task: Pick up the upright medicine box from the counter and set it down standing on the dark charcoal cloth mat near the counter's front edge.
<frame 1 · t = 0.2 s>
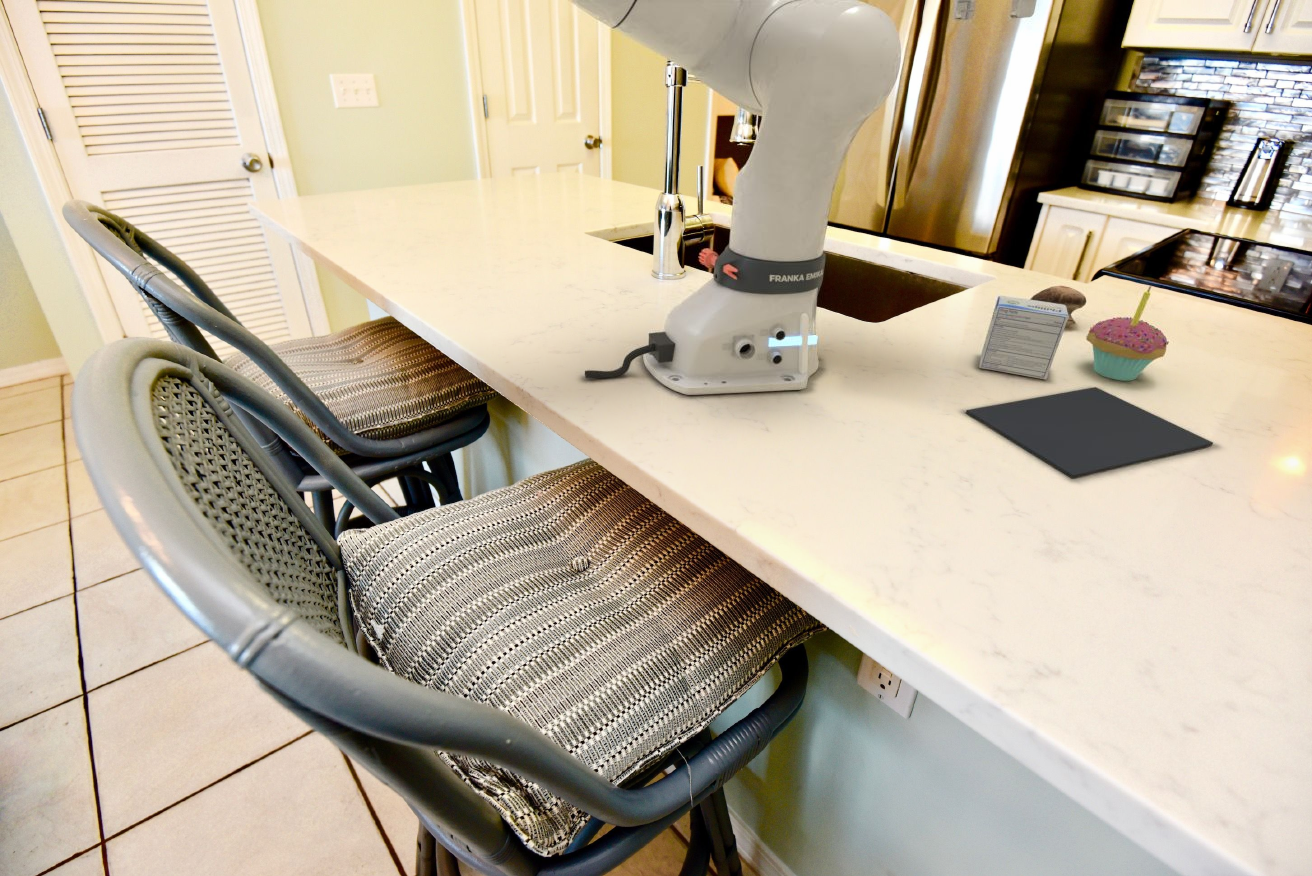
hand: (990, 18, 74), 38 cm above the countertop, tool pointing down, fingers open, 8 cm apart
mushroom: (1049, 323, 102), on the countertop
cupcake: (1112, 374, 86), on the countertop
cloth: (1084, 428, 72), on the countertop
medicine box: (1011, 370, 86), on the countertop
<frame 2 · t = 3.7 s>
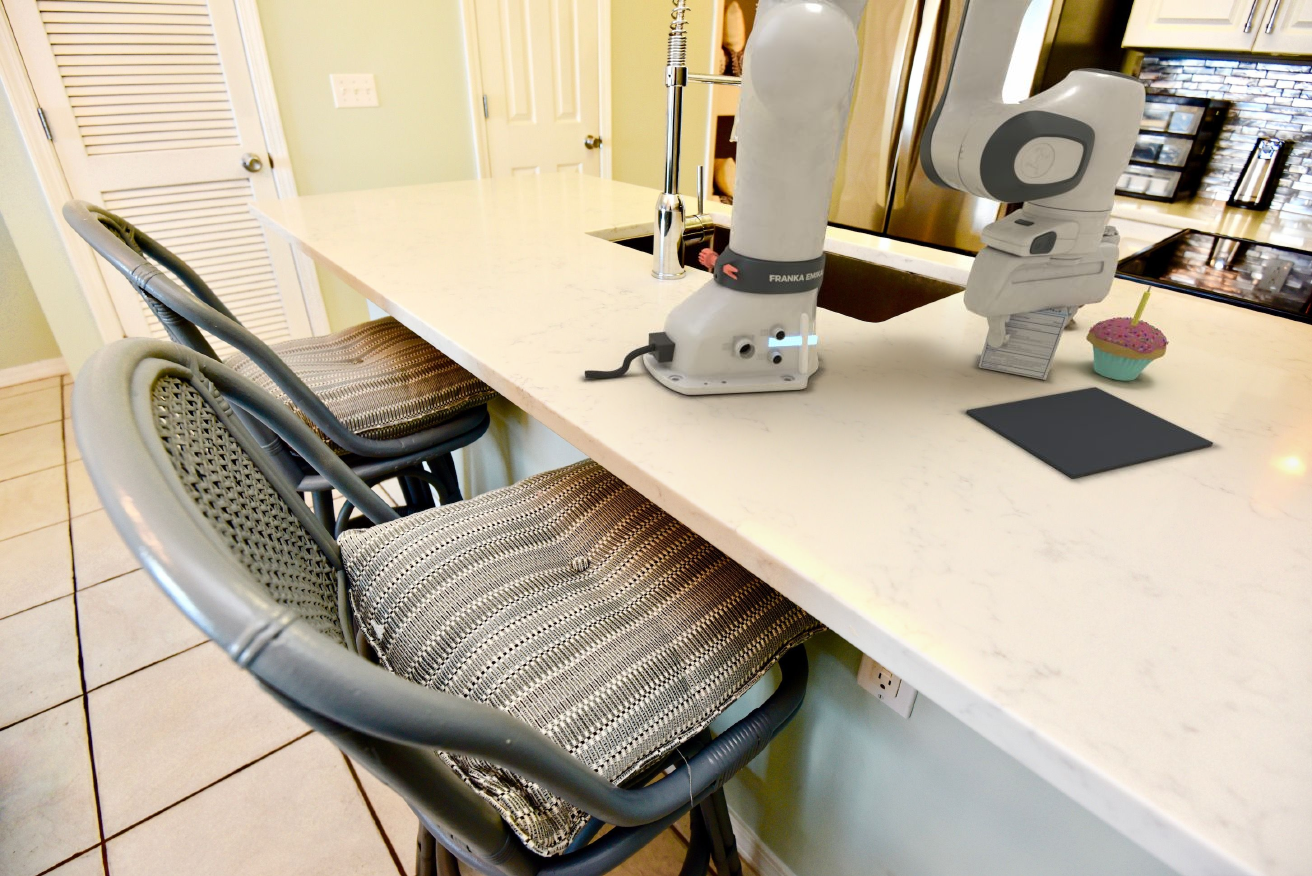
hand: (1023, 341, 84), 4 cm above the countertop, tool pointing down, fingers closed on medicine box, 7 cm apart
medicine box: (1011, 370, 86), on the countertop, touching gripper
everything else where it was.
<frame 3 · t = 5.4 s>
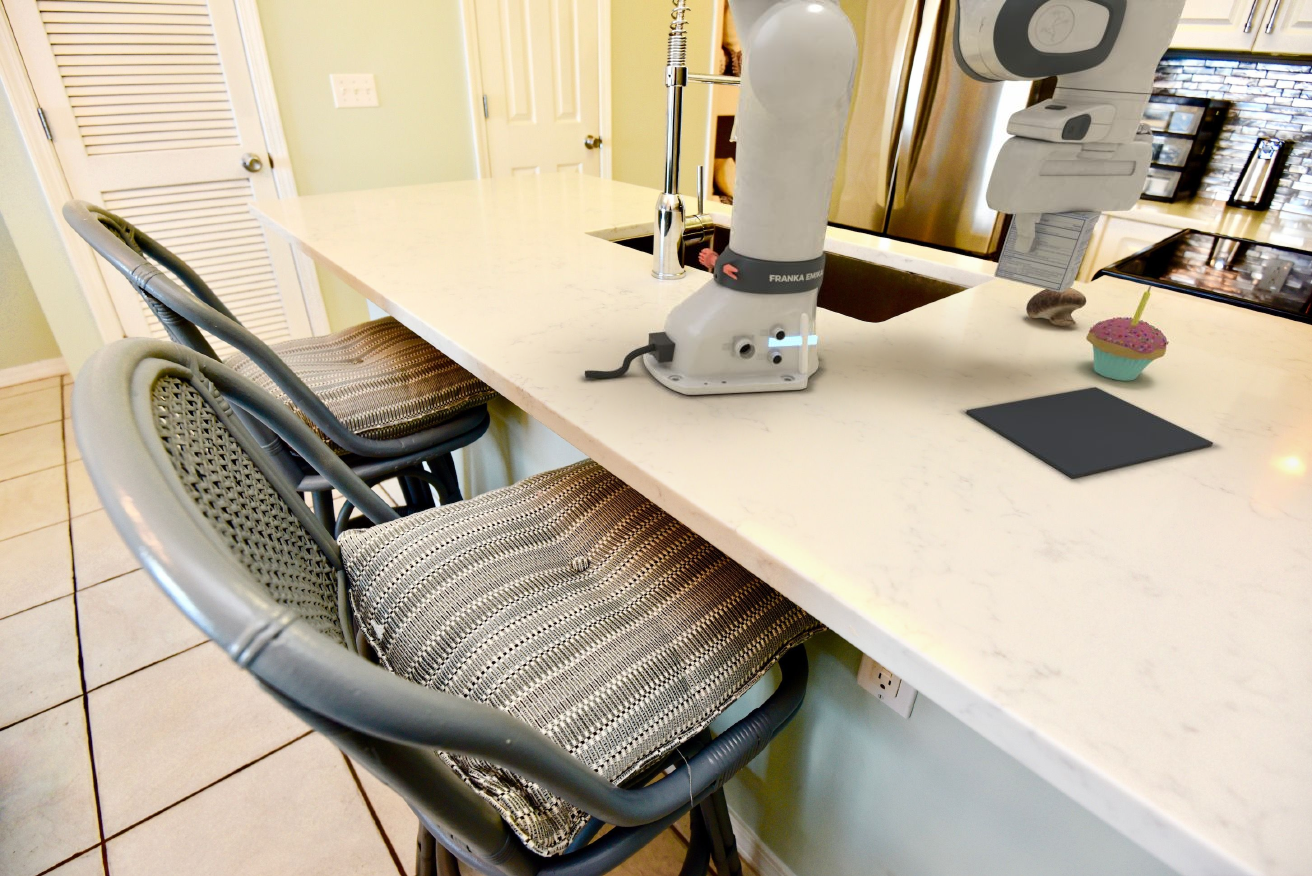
hand: (1046, 250, 78), 15 cm above the countertop, tool pointing down, fingers closed on medicine box, 6 cm apart
medicine box: (1031, 284, 80), point 11 cm above the countertop, touching gripper
everything else where it was.
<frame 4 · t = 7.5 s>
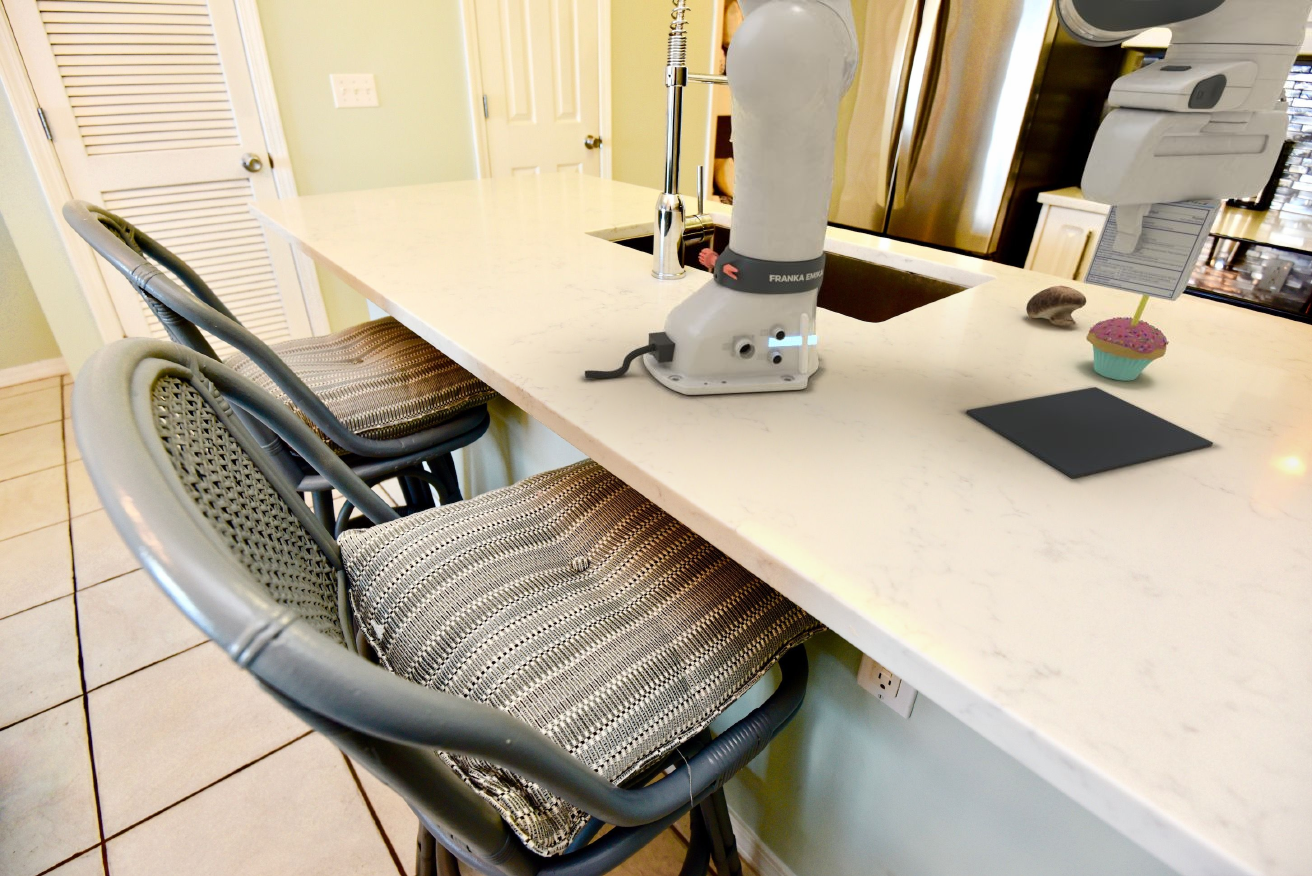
hand: (1151, 249, 63), 19 cm above the countertop, tool pointing down, fingers closed on medicine box, 6 cm apart
medicine box: (1131, 290, 66), point 15 cm above the countertop, touching gripper
everything else where it was.
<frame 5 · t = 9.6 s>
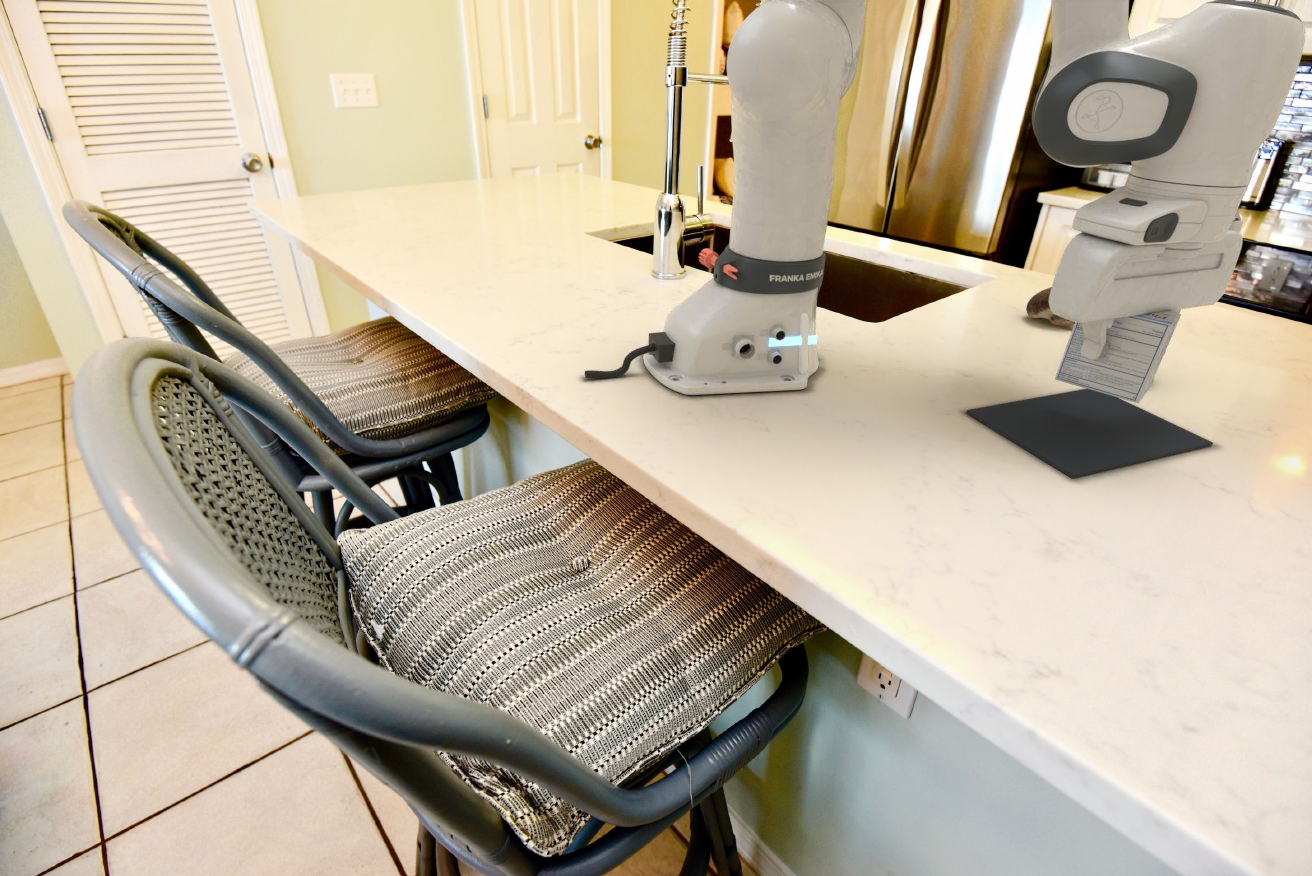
hand: (1116, 352, 68), 9 cm above the countertop, tool pointing down, fingers closed on medicine box, 6 cm apart
medicine box: (1099, 388, 70), point 5 cm above the countertop, touching gripper
everything else where it was.
when the fingers open (4 cm above the countertop, at t = 11.3 s): medicine box stays where it is, resting on cloth.
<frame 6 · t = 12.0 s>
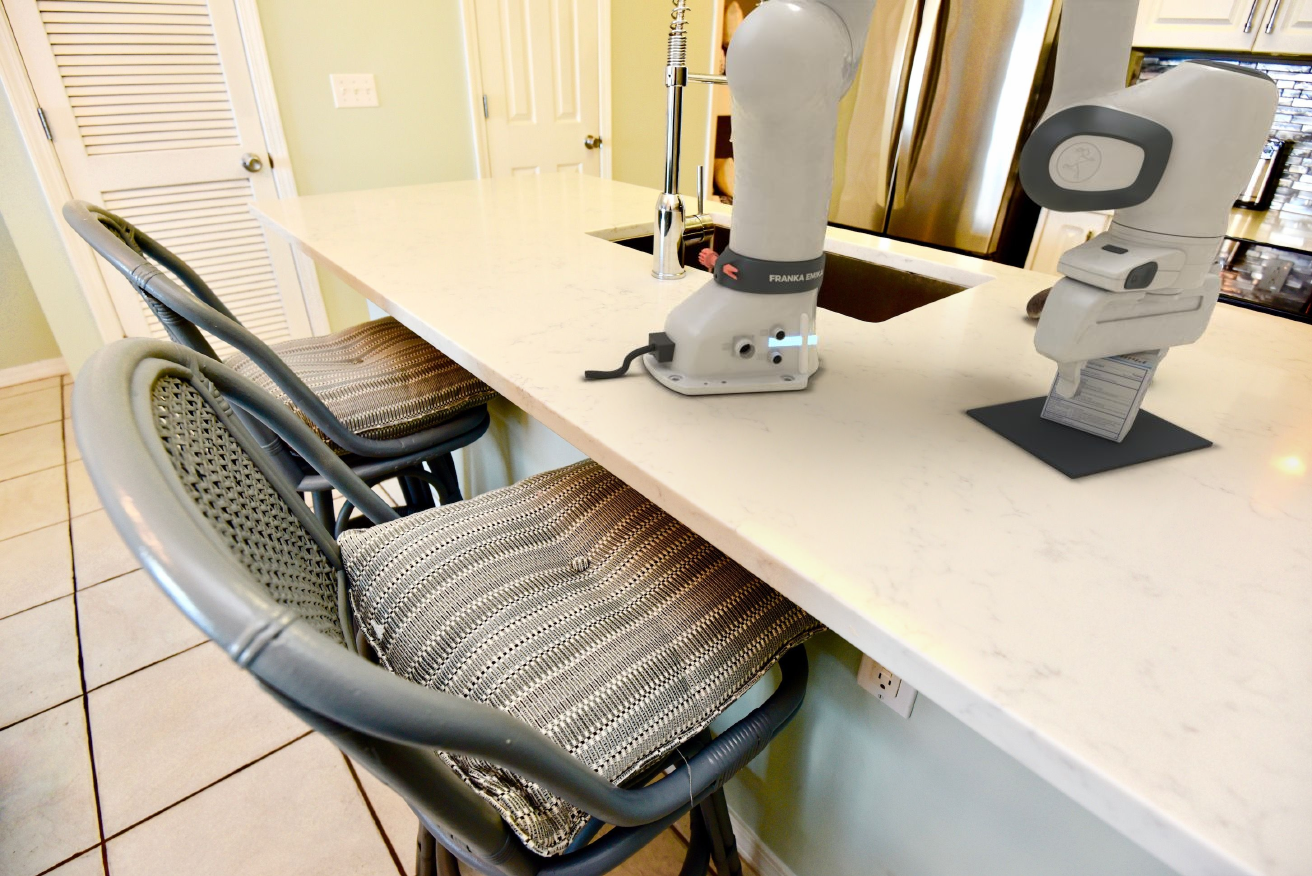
hand: (1100, 389, 70), 5 cm above the countertop, tool pointing down, fingers open, 8 cm apart
medicine box: (1083, 426, 72), resting on cloth
everything else where it was.
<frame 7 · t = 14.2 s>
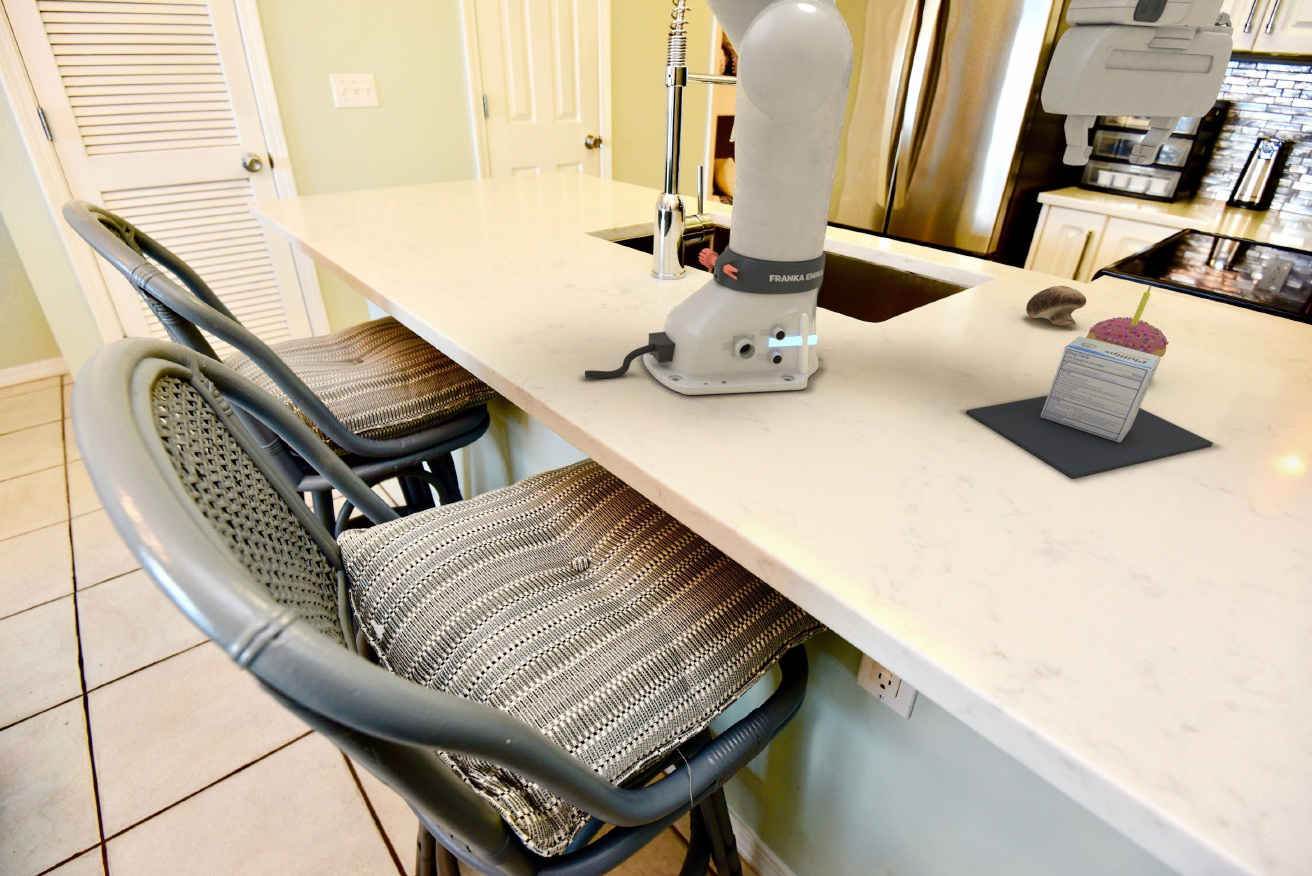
hand: (1107, 164, 69), 25 cm above the countertop, tool pointing down, fingers open, 8 cm apart
nothing on the countertop moved.
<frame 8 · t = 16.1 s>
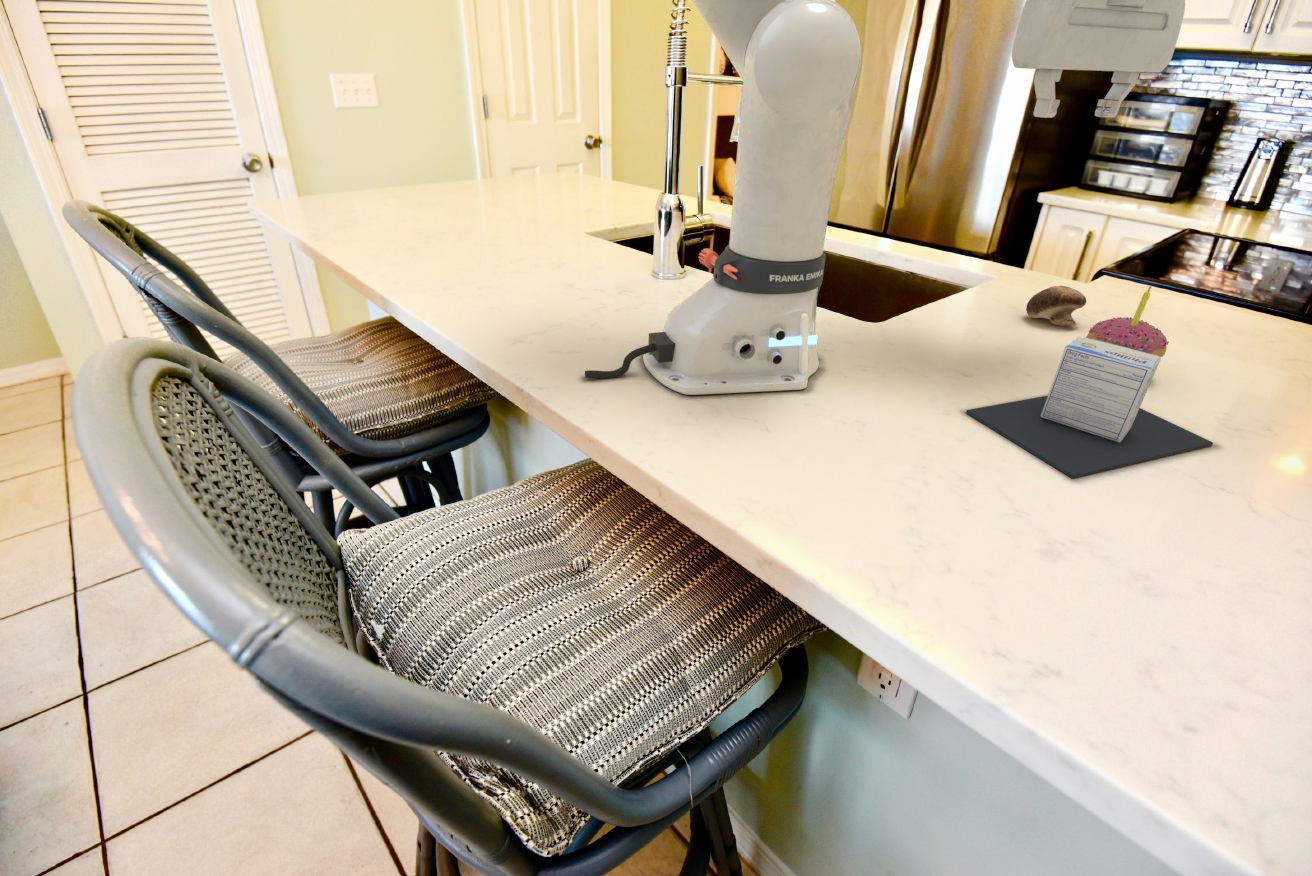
hand: (1074, 117, 75), 29 cm above the countertop, tool pointing down, fingers open, 8 cm apart
nothing on the countertop moved.
at the end: medicine box inside the target area on the cloth (0.3 cm from its centre), point 0.2 cm above the cloth's base; medicine box tilted 0°; the gripper is holding nothing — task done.
